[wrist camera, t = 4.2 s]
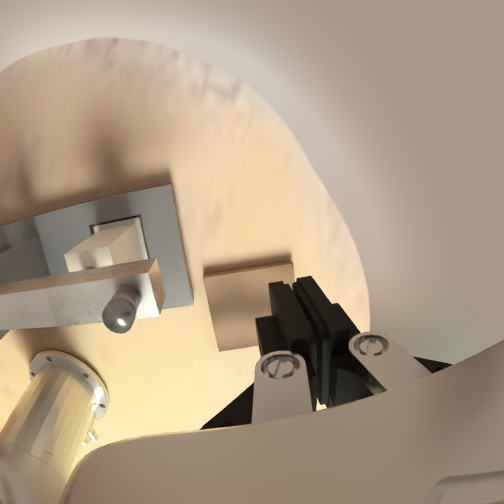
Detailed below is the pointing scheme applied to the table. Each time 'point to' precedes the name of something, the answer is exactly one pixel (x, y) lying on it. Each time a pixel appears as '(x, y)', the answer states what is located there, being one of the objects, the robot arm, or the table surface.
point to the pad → (242, 301)
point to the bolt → (85, 297)
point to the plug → (110, 245)
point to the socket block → (81, 227)
